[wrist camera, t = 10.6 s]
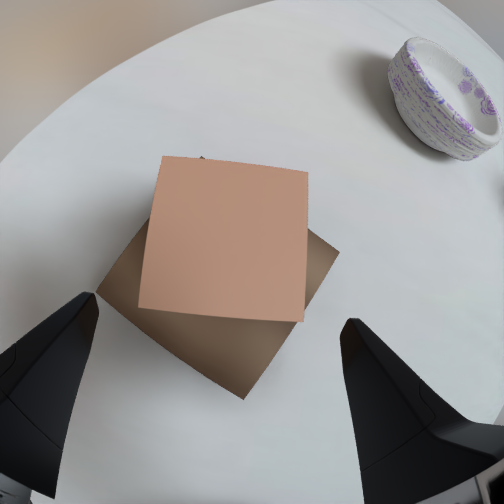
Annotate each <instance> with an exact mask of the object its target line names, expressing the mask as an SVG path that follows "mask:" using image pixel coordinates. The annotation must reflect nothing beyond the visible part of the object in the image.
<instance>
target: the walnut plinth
mask: <svg viewBox="0 0 504 504" xmlns="http://www.w3.org/2000/svg"><path fill="white" fill-rule="evenodd" d="M199 159H205V158H203V157H202V156H201V157H200V158H199ZM149 221H150V217H149V219H148V220H147V221H146V222H145V224H144V225H143V226H142V228H141V229H140V230H139V231H138V233H137V234H136V235H135V237H134V238H133V239H132V241H131V242H130V243H129V245H128V246H127V247H126V249H125V250H124V251H123V253H122V254H121V256H120V257H119V258H118V260H117V261H116V263H115V264H114V265H113V267H112V268H111V270H110V271H109V273H108V274H107V275H106V277H105V278H104V280H103V281H102V283H101V284H100V286H99V287H98V289H97V290H96V293H97V294H98V295H100V296H101V297H102V298H103V299H104V300H105V301H106V302H108V303H109V304H110V305H111V306H112V307H113V308H115V309H116V310H117V311H118V312H119V313H121V314H122V315H123V316H124V317H125V318H127V319H128V320H129V321H130V322H132V323H133V324H134V325H135V326H137V327H138V328H139V329H140V330H142V331H143V332H144V333H145V334H147V335H148V336H149V337H151V338H152V339H153V340H155V341H156V342H157V343H159V344H160V345H161V346H163V347H164V348H165V349H167V350H168V351H170V352H171V353H172V354H174V355H175V356H176V357H178V358H179V359H181V360H182V361H184V362H185V363H186V364H188V365H189V366H191V367H192V368H194V369H195V370H197V371H198V372H200V373H201V374H203V375H204V376H206V377H207V378H209V379H210V380H212V381H214V382H215V383H217V384H218V385H220V386H221V387H223V388H225V389H226V390H228V391H230V392H231V393H233V394H235V395H236V396H238V397H240V398H241V399H243V400H244V398H245V397H246V396H247V394H248V393H249V392H250V390H251V389H252V388H253V386H254V385H255V383H256V382H257V381H258V379H259V378H260V376H261V375H262V374H263V372H264V371H265V369H266V368H267V366H268V365H269V363H270V362H271V361H272V359H273V358H274V356H275V355H276V353H277V352H278V350H279V349H280V347H281V346H282V344H283V343H284V341H285V340H286V338H287V337H288V335H289V334H290V332H291V331H292V329H293V328H294V326H295V325H296V323H297V322H292V321H273V320H257V319H243V318H230V317H219V316H208V315H198V314H188V313H179V312H171V311H162V310H154V309H147V308H139V307H138V303H139V293H140V284H141V275H142V267H143V260H144V252H145V246H146V239H147V233H148V226H149ZM338 254H339V251H338V250H336V249H335V248H334V247H332V246H331V245H329V244H328V243H327V242H325V241H324V240H323V239H321V238H320V237H319V236H317V235H316V234H315V233H313V232H312V231H310V230H309V229H308V235H307V266H306V288H305V306H304V311H305V309H306V307H307V306H308V304H309V303H310V301H311V299H312V298H313V296H314V295H315V293H316V291H317V290H318V288H319V286H320V285H321V283H322V281H323V280H324V278H325V276H326V275H327V273H328V271H329V270H330V268H331V266H332V265H333V263H334V261H335V259H336V258H337V256H338Z"/></svg>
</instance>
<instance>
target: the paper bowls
mask: <svg viewBox="0 0 504 504" xmlns="http://www.w3.org/2000/svg"><path fill="white" fill-rule="evenodd" d="M388 79H389V83H390V87H391V89H392V91H393V93H394V99H395V104H396V107H397V109H398V112H399V113H400V115H401V117H402V119H403V120H404V122H405V123H406V125H407V126H408V127H409V128H410V130H411V131H412V132H413V133H414V134H415V135H416V136H417V137H418V138H419V139H420V140H421V141H423V142H424V143H425V144H427V145H428V146H430V147H432V148H434V149H436V150H439V151H442V152H445V153H446V154H448V155H449V156H451V157H454V158H456V159H458V160H461V161H470V160H473V159H475V158H477V157H479V156H480V155H481V154H483V153H485V152H486V151H488V150H489V149H491V148H492V147H494V146H495V145H497V144H498V143H499V142H500V140H501V137H502V125H501V121H500V117H499V115H498V112H497V110H496V108H495V106H494V104H493V102H492V100H491V98H490V96H489V95H488V93H487V92H486V90H485V89H484V87H483V86H482V84H481V83H480V82H479V80H478V79H477V78H476V77H475V76H474V74H473V73H472V72H471V71H470V70H469V69H468V68H467V67H466V66H465V65H464V64H463V63H462V62H461V61H460V60H458V59H457V58H456V57H455V56H454V55H453V54H451V53H450V52H449V51H447V50H446V49H444V48H443V47H441V46H439V45H438V44H436V43H434V42H432V41H429V40H427V39H423V38H417V37H414V38H410V39H408V40H407V41H406V42H405V43H404V45H403V46H402V48H401V49H400V50H399V51H398V53H397V54H396V55H395V57H394V58H393V60H392V61H391V63H390V65H389V67H388Z"/></svg>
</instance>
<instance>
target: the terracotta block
mask: <svg viewBox="0 0 504 504" xmlns="http://www.w3.org/2000/svg"><path fill="white" fill-rule="evenodd" d="M307 235H308V172H303V171H297V170H290V169H284V168H277V167H270V166H263V165H255V164H247V163H239V162H230V161H221V160H210V159H199V158H187V157H173V156H162V161H161V165H160V169H159V174H158V179H157V184H156V188H155V193H154V199H153V204H152V209H151V215H150V221H149V226H148V233H147V239H146V246H145V252H144V260H143V267H142V275H141V284H140V293H139V303H138V307H139V308H147V309H154V310H162V311H171V312H179V313H188V314H198V315H208V316H219V317H230V318H243V319H257V320H273V321H292V322H304V306H305V288H306V266H307Z"/></svg>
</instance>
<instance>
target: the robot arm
mask: <svg viewBox="0 0 504 504" xmlns="http://www.w3.org/2000/svg"><path fill="white" fill-rule="evenodd" d="M98 316H99V309H98V305H97V301H96V297H95V295H94V293H91V292H82V293H81V294H79V295H78V296H76V297H75V298H74V299H72V300H71V301H69V302H68V303H67V304H65V305H64V306H63V307H61V308H60V309H59V310H57V311H56V312H54V313H53V314H52V315H50V316H49V317H48V318H46V319H45V320H44V321H42V322H41V323H40V324H39V325H37V326H36V327H35V328H33V329H32V330H31V331H29V332H28V333H27V334H26V335H24V336H23V337H22V338H21V339H19V340H18V341H17V342H16V343H14V344H13V345H12V346H10V347H9V348H8V349H7V350H5V351H4V352H3V353H2V354H0V504H32V502H31V500H30V497H31V492H32V490H34V491H36V492H38V493H41V494H43V495H45V496H48V497H50V498H52V499H55V493H56V486H57V480H58V474H59V468H60V463H61V458H62V453H63V451H62V450H63V447H64V442H65V438H66V434H67V429H68V425H69V421H70V417H71V413H72V410H73V406H74V402H75V399H76V395H77V392H78V388H79V385H80V382H81V378H82V375H83V372H84V369H85V366H86V363H87V360H88V357H89V353H90V350H91V346H92V341H93V337H94V333H95V328H96V324H97V320H98ZM340 346H341V356H342V366H343V375H344V380H345V385H346V390H347V395H348V401H349V406H350V411H351V417H352V422H353V428H354V434H355V440H356V446H357V452H358V459H359V465H360V472H361V480H362V488H363V496H364V504H504V426H501V425H491V424H483V423H476V422H472V421H470V420H468V419H466V418H465V417H464V416H462V415H461V414H460V413H459V412H458V411H456V410H455V409H454V408H453V407H452V406H450V405H449V404H448V403H447V402H446V401H444V400H443V399H442V398H441V397H440V396H439V395H438V394H437V393H435V392H434V391H433V390H432V389H431V388H430V387H429V386H428V385H427V384H426V383H425V382H424V381H423V380H422V379H420V377H419V376H418V375H417V374H416V373H415V372H414V371H413V370H412V369H411V368H410V367H409V366H408V365H407V364H406V363H405V362H404V361H403V360H402V359H401V358H400V357H399V356H398V355H397V354H396V353H395V352H394V351H393V350H391V349H390V348H389V347H388V346H387V345H386V344H385V343H384V342H383V341H382V340H381V339H380V338H379V337H378V336H377V335H376V334H375V333H374V332H373V331H372V330H371V329H370V328H369V327H368V326H367V325H366V324H365V323H364V322H362V321H361V320H360V319H358V318H349V319H348V320H347V321H346V323H345V325H344V327H343V329H342V331H341V334H340Z"/></svg>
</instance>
